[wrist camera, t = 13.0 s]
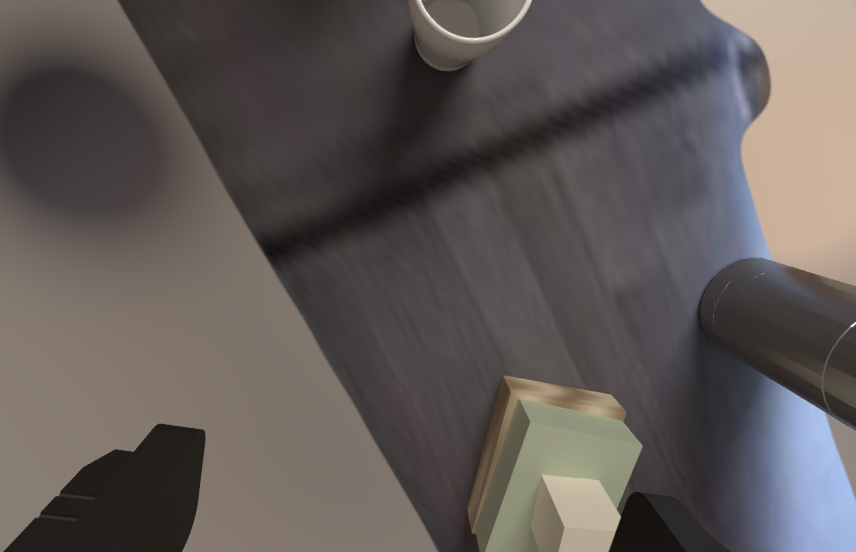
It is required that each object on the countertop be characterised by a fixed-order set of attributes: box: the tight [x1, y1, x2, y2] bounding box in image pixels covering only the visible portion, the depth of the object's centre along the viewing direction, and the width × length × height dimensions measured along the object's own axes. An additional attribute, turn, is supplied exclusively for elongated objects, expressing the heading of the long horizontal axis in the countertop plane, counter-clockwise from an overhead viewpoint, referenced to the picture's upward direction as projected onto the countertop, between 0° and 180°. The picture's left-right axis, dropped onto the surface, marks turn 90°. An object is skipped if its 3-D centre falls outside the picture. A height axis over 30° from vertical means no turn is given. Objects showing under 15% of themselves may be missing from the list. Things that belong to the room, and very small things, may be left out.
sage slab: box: [475, 398, 643, 552], centre depth 45 cm, size 10×14×4 cm
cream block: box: [530, 475, 621, 552], centre depth 40 cm, size 5×5×6 cm
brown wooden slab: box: [467, 376, 627, 534], centre depth 49 cm, size 11×15×4 cm
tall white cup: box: [408, 0, 532, 71], centre depth 33 cm, size 7×7×15 cm
